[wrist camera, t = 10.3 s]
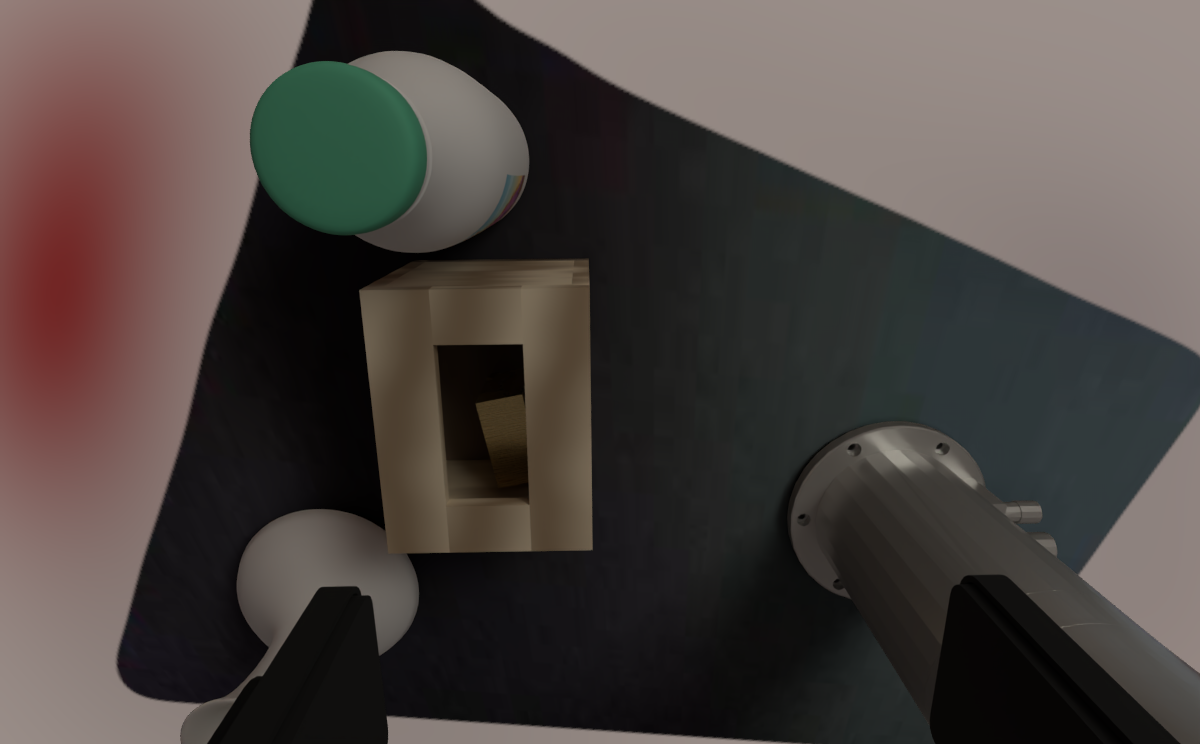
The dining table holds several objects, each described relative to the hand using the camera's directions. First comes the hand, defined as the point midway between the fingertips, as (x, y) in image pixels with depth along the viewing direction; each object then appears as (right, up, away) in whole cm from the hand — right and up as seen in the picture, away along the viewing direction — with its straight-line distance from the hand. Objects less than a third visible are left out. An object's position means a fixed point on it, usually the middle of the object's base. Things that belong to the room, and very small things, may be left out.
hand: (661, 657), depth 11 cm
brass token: (-6, +4, +27) cm, 28 cm away
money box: (-7, +5, +30) cm, 31 cm away
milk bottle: (-9, +16, +27) cm, 33 cm away
